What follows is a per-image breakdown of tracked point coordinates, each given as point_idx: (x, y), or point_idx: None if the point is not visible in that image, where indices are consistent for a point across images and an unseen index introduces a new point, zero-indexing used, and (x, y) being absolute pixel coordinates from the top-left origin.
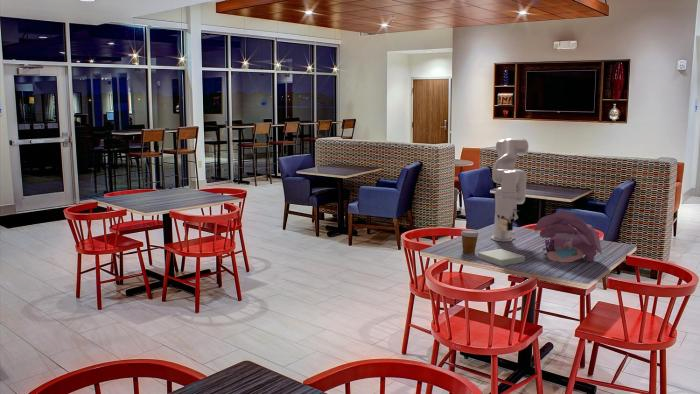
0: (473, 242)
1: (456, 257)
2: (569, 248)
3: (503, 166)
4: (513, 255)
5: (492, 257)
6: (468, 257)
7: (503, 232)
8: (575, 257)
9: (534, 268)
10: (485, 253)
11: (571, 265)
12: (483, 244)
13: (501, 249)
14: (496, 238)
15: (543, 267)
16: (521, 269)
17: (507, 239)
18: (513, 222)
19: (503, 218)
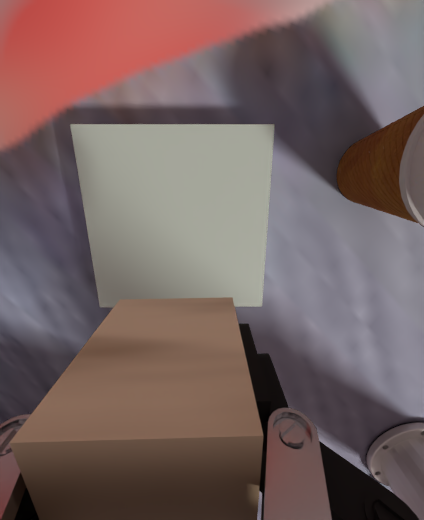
0: (376, 155)
1: (346, 9)
2: None
3: None
4: (132, 267)
5: (148, 124)
6: (303, 89)
7: (417, 481)
8: None
9: (5, 253)
10: (234, 152)
11: (8, 405)
12: (411, 346)
13: (251, 300)
14: (418, 436)
15: (10, 299)
16: (4, 182)
17: (378, 457)
18: None
19: (205, 491)
